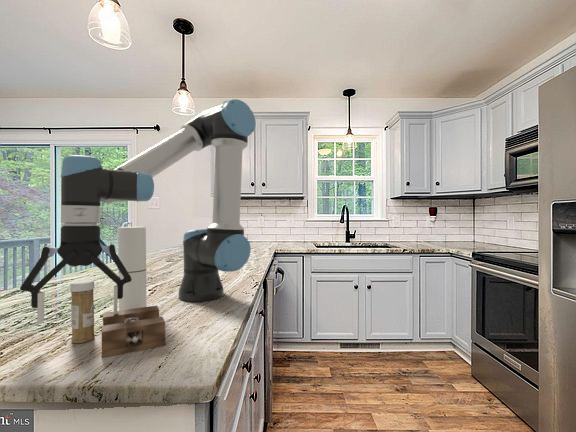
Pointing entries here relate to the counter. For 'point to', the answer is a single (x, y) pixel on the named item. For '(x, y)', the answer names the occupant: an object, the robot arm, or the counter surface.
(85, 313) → the sprinkles bottle
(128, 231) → the cylindrical container
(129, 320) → the plunger
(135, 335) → the plunger
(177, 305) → the counter surface
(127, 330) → the socket
